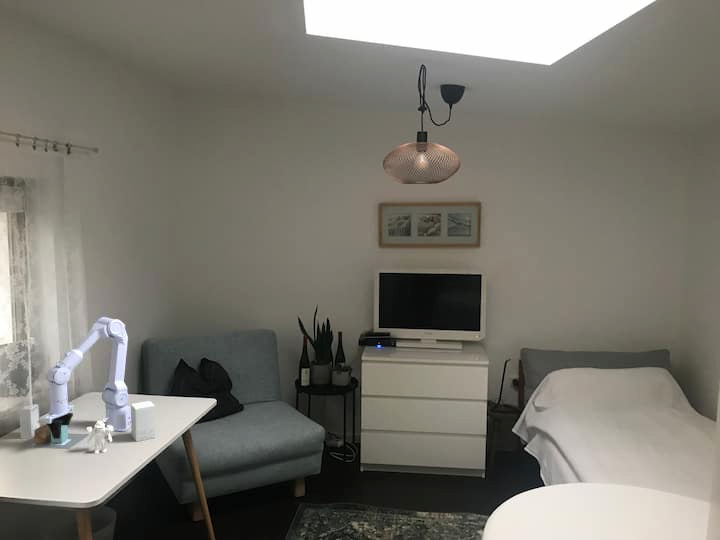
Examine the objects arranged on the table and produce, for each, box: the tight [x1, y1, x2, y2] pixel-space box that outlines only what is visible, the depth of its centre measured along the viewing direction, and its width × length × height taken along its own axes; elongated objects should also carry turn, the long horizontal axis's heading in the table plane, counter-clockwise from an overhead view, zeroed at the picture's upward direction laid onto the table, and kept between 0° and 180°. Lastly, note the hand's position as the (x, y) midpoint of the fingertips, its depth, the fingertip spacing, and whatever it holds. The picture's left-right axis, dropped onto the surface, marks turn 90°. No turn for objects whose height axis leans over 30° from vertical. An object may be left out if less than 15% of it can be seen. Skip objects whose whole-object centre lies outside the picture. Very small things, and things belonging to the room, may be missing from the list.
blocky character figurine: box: [85, 417, 114, 454], centre depth 203 cm, size 9×4×12 cm, turn 107°
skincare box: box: [18, 403, 41, 440], centre depth 215 cm, size 6×4×12 cm
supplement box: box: [130, 400, 157, 442], centre depth 217 cm, size 7×7×13 cm
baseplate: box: [26, 432, 90, 450], centre depth 211 cm, size 16×14×1 cm
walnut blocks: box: [34, 423, 51, 444], centre depth 212 cm, size 4×8×5 cm, turn 176°
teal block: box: [51, 425, 69, 443], centre depth 209 cm, size 4×4×5 cm
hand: (60, 435), depth 209 cm, fingers closed on teal block, 4 cm apart
